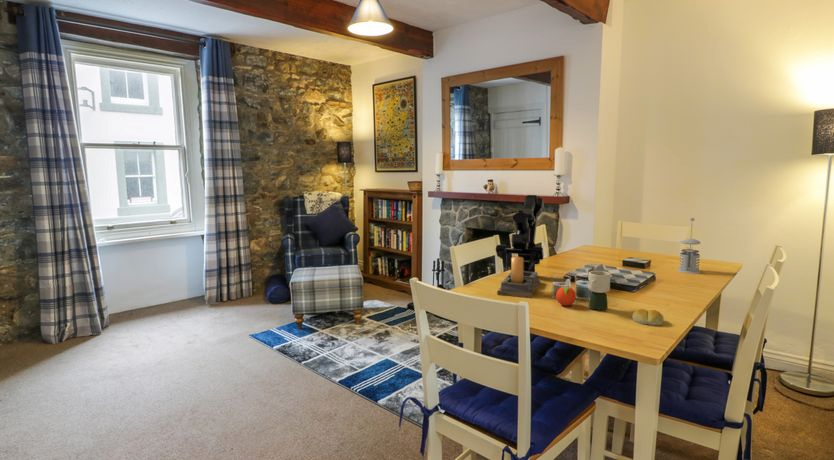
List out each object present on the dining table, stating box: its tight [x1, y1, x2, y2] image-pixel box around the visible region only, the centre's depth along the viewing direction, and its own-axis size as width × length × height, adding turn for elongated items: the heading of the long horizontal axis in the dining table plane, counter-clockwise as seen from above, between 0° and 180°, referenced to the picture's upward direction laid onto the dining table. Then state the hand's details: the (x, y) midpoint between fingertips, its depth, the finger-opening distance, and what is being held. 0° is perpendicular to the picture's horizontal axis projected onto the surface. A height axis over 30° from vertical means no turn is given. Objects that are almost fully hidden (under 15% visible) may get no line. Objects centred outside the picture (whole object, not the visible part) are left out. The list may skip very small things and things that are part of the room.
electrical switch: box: [587, 263, 605, 275], centre depth 192 cm, size 9×5×9 cm, turn 141°
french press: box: [676, 217, 702, 275], centre depth 214 cm, size 10×12×25 cm
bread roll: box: [632, 308, 664, 327], centre depth 150 cm, size 8×9×4 cm
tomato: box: [555, 285, 577, 307], centre depth 168 cm, size 8×7×7 cm
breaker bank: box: [496, 271, 541, 299], centre depth 193 cm, size 25×13×6 cm, turn 157°
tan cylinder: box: [510, 256, 524, 284], centre depth 186 cm, size 5×5×12 cm
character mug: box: [587, 270, 611, 311], centre depth 163 cm, size 11×7×13 cm, turn 134°
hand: (516, 269), depth 185 cm, fingers open, 9 cm apart
